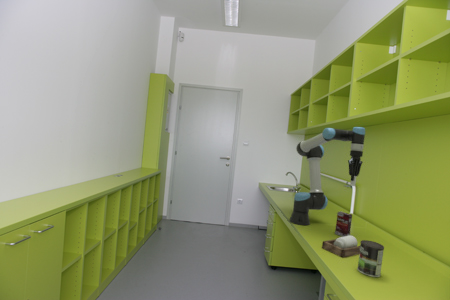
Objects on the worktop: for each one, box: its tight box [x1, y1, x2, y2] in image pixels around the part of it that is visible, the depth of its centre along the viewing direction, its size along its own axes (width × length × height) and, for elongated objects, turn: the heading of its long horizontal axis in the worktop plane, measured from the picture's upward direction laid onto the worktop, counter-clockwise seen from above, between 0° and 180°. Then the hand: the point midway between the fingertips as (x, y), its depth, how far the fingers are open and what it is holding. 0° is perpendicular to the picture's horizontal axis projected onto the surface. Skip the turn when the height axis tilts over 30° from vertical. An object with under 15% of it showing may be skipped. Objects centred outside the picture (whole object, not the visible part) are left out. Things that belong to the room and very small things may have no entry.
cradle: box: [321, 238, 360, 259], centre depth 159 cm, size 14×20×4 cm
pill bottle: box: [334, 234, 358, 249], centre depth 160 cm, size 8×8×15 cm
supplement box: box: [334, 211, 353, 237], centre depth 188 cm, size 9×5×16 cm, turn 40°
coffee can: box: [357, 239, 385, 278], centre depth 133 cm, size 10×10×14 cm
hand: (352, 185), depth 180 cm, fingers closed
